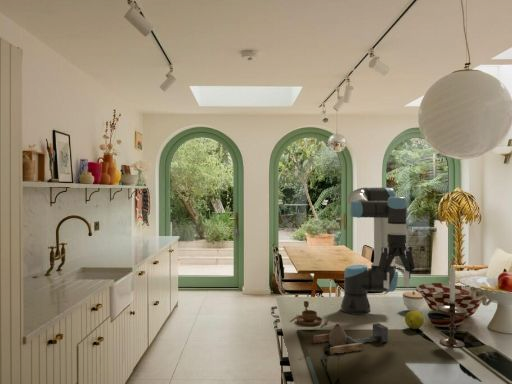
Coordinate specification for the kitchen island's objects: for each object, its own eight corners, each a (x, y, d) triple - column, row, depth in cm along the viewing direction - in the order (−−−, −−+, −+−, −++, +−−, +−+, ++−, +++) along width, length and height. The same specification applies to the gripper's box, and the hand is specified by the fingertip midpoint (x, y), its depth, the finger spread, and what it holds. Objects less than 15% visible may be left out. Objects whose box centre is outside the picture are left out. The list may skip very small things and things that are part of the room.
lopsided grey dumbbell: (376, 336, 180) (376, 322, 179) (390, 343, 171) (390, 328, 171) (343, 340, 174) (343, 326, 174) (355, 348, 165) (356, 333, 165)
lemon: (411, 323, 197) (411, 306, 197) (427, 327, 191) (427, 310, 191) (400, 329, 189) (400, 311, 189) (417, 333, 184) (417, 315, 184)
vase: (336, 351, 163) (336, 328, 163) (325, 345, 169) (325, 323, 169) (350, 348, 166) (350, 326, 166) (339, 342, 173) (339, 321, 172)
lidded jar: (426, 308, 223) (426, 290, 223) (422, 313, 214) (422, 294, 214) (405, 305, 228) (405, 287, 228) (400, 310, 219) (400, 292, 219)
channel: (343, 338, 177) (343, 331, 177) (363, 351, 163) (363, 343, 163) (313, 342, 172) (313, 335, 172) (331, 356, 159) (331, 348, 159)
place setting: (286, 322, 200) (286, 310, 200) (303, 312, 217) (303, 300, 217) (321, 329, 191) (321, 315, 191) (336, 317, 208) (336, 305, 208)
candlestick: (441, 337, 179) (442, 255, 178) (469, 344, 172) (470, 257, 171) (433, 345, 170) (434, 258, 170) (462, 351, 163) (463, 261, 163)
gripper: (412, 232, 184) (411, 283, 185) (369, 233, 177) (368, 287, 177) (424, 233, 177) (424, 287, 177) (380, 235, 170) (379, 291, 170)
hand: (396, 287), depth 177 cm, fingers open, 9 cm apart
